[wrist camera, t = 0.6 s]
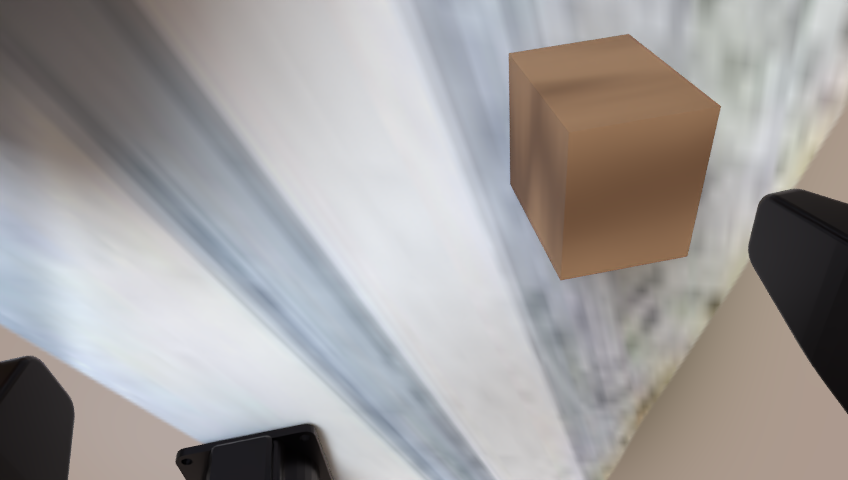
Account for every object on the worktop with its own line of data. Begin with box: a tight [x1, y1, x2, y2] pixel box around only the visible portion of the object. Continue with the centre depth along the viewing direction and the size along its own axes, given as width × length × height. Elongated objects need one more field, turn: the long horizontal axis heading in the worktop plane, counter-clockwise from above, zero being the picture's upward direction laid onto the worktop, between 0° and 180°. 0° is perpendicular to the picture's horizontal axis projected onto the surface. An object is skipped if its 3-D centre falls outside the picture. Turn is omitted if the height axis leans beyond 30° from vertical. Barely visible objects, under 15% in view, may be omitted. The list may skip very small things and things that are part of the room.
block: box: [509, 34, 721, 280], centre depth 19 cm, size 5×4×6 cm
